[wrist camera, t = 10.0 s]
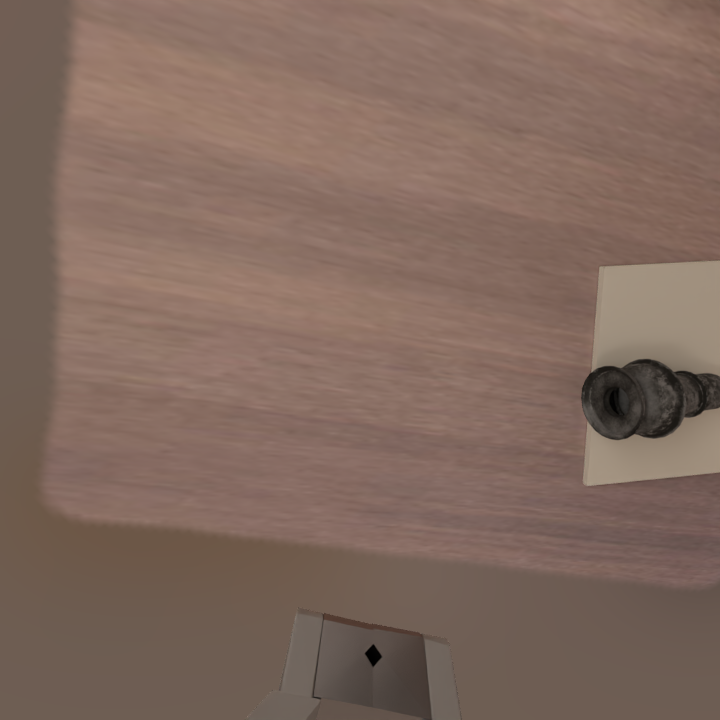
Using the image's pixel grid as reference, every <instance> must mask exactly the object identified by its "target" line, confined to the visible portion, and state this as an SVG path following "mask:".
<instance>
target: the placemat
mask: <svg viewBox="0 0 720 720" xmlns="http://www.w3.org/2000/svg"><path fill="white" fill-rule="evenodd" d="M638 359H652V360H656V361H659V362H661V363H663V364H664V365H666V366H668V367H669V368H670V369H671V370H672V371H673V372H676V371H688V372H692V373H693V374H702V373H711V374H715V375H718V376H720V260H717V261H697V262H677V263H657V264H637V265H618V266H599V279H598V292H597V305H596V318H595V331H594V344H593V357H592V370H591V373H592V372H593V371H594V370H595V369H597V368H600V367H603V366H615V367H619V368H622V367H624V366H625V365H627V364H628V363H630V362H632V361H635V360H638ZM718 472H720V408H717V409H712V410H704V411H703V412H702V413H701V414H700V415H698V416H696V417H691V418H685V417H684V419H683V421H682V423H681V425H680V426H679V427H678V428H677V429H676V430H675V431H674V432H673V433H672V434H670V435H668V436H666V437H662V438H656V439H652V438H644V437H642V436H640V435H636V434H634V435H632V436H631V437H629V438H627V439H622V440H612V439H608V438H606V437H604V436H601V435H600V434H599V433H598V432H596V431H595V430H594V429H593V427H592V426H591V425H590V424H589V422H587V435H586V448H585V461H584V474H583V483H584V484H585V485H586V486H593V485H603V484H612V483H622V482H631V481H641V480H651V479H660V478H670V477H680V476H689V475H699V474H708V473H718Z"/></svg>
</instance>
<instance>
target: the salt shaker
mask: <svg viewBox="0 0 720 720" xmlns="http://www.w3.org/2000/svg"><path fill="white" fill-rule="evenodd" d="M581 399H582V407H583V411H584V414H585V416H586V418H587V420H588V422H589V424H590V425H591V426H592V427H593V429H594V430H595V431H596V432H598V433H599V434H600V435H601V436H604V437H606V438H608V439H612V440H622V439H627V438H629V437H631V436H632V435H634V434H636V435H640V436H642V437H644V438H652V439H656V438H662V437H666V436H668V435H670V434H672V433H673V432H674V431H675V430H676V429H677V428H678V427H679V426H680V425H681V423H682V421H683V419H684V417H685V418H691V417H696V416H698V415H700V414H701V413H702V412H703V411H704V410H712V409H717V408H720V376H718V375H715V374H711V373H702V374H693V373H692V372H688V371H676V372H673V371H672V370H671V369H670V368H669V367H668V366H666V365H664V364H663V363H661V362H659V361H656V360H652V359H638V360H635V361H632V362H630V363H628V364H627V365H625V366H624V367H622V368H619V367H615V366H603V367H600V368H597V369H595V370H594V371H593V372H592V373H590V374H589V376H588V377H587V379H586V380H585V383H584V385H583V388H582V395H581Z"/></svg>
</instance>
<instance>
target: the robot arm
mask: <svg viewBox="0 0 720 720" xmlns="http://www.w3.org/2000/svg"><path fill="white" fill-rule="evenodd" d="M245 720H462V717H461V711H460V705H459V699H458V692H457V686H456V680H455V674H454V668H453V662H452V656H451V649H450V644H449V642H448V640H447V639H446V638H441V637H437V636H432V635H427V634H420V633H418V632H413V631H408V630H403V629H397V628H393V627H387V626H382V625H377V624H368V623H364V622H360V621H355V620H351V619H347V618H343V617H339V616H334V615H330V614H326V613H324V614H323V613H320V612H315V611H311V610H307V609H302V608H298V610H297V613H296V617H295V621H294V626H293V630H292V634H291V639H290V643H289V647H288V651H287V655H286V660H285V664H284V668H283V673H282V677H281V682H280V686H279V691H277V690H272V691H271V692H270V693H269V694H268V695H267V696H266V697H265V698H264V699H263V701H262V702H261V703H260V704H259V705H258V706H257V707H256V708H255V709H254V710H253V711H252V712H251V713H250V714H249V716H248V717H247V718H246V719H245Z"/></svg>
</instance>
